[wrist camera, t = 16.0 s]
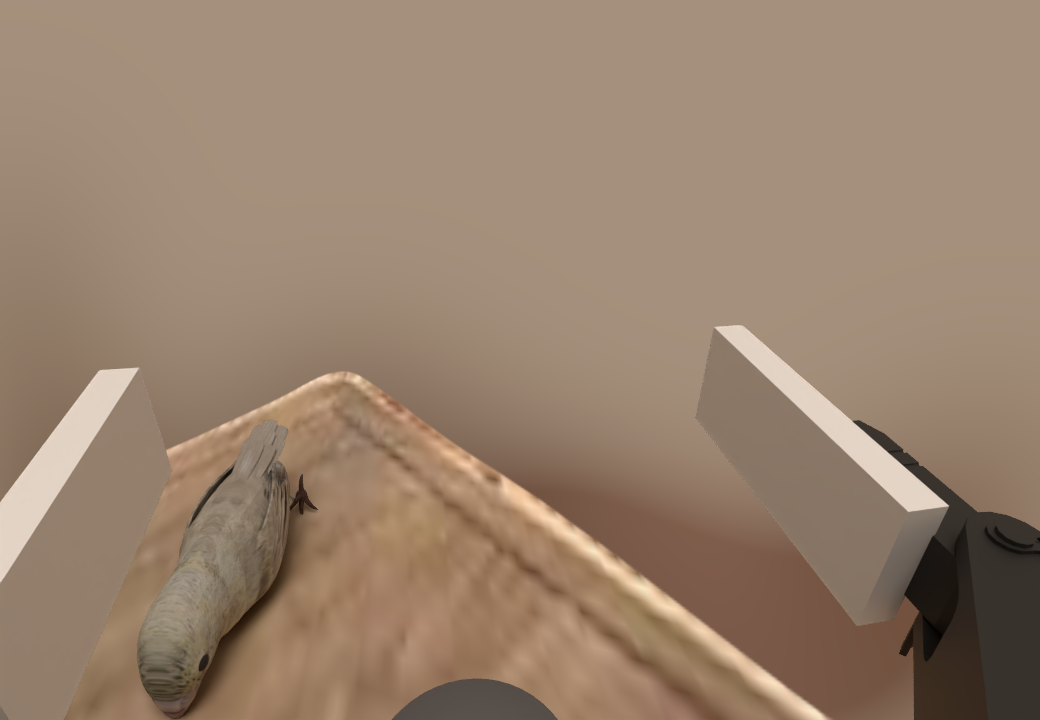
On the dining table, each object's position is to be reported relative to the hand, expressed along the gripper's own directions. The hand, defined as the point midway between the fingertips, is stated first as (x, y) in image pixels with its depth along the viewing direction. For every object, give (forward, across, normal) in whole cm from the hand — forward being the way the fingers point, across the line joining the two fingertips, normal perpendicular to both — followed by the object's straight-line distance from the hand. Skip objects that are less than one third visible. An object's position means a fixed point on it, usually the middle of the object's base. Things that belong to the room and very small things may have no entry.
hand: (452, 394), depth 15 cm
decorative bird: (+16, -12, -24) cm, 31 cm away
